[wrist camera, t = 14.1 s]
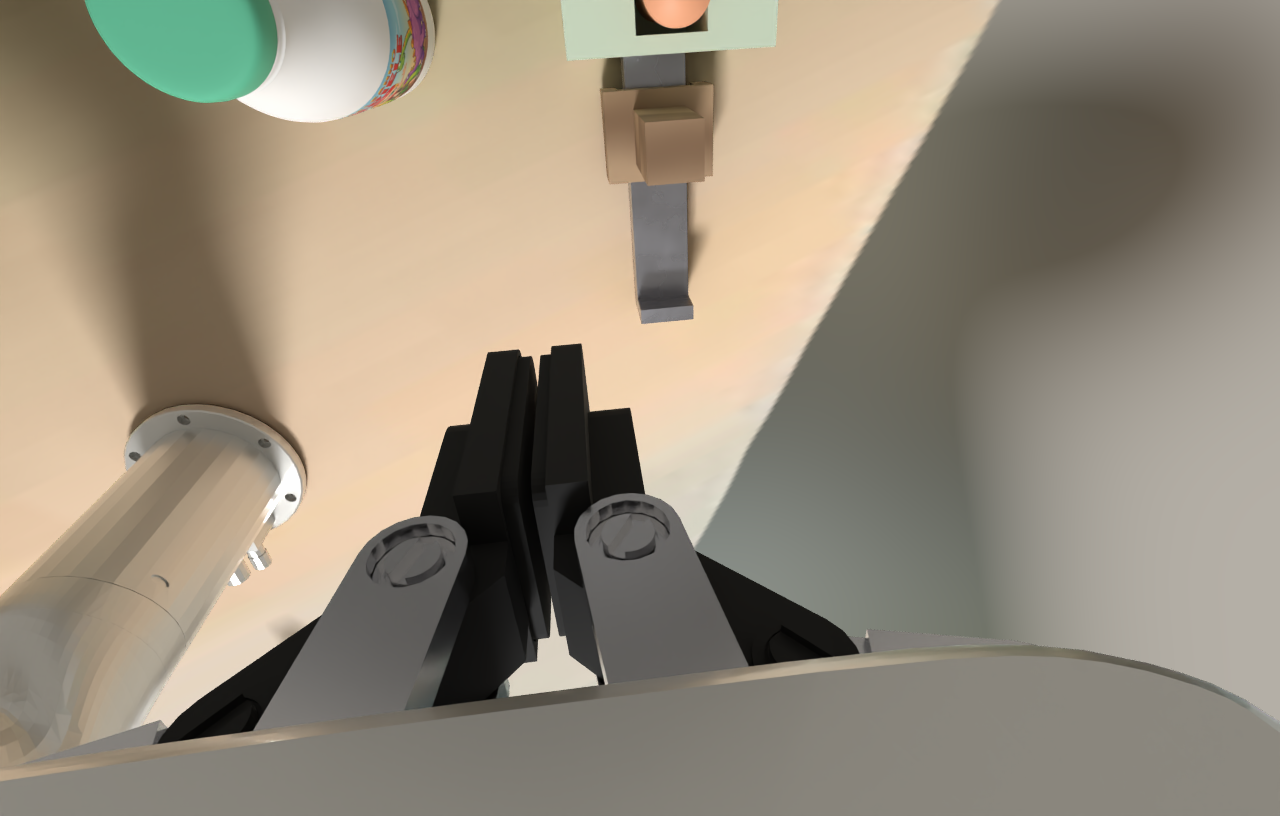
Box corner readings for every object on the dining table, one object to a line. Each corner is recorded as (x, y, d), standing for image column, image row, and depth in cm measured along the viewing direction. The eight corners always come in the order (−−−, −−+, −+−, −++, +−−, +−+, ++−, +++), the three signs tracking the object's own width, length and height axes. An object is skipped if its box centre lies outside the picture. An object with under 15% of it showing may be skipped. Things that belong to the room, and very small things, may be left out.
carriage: (703, 167, 39) (735, 198, 32) (606, 175, 39) (616, 208, 31) (703, 81, 37) (739, 93, 29) (600, 88, 36) (608, 102, 29)
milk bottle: (269, 36, 34) (-29, 38, 17) (329, -100, 31) (44, -264, 14) (398, 129, 37) (255, 209, 20) (463, 12, 34) (361, -10, 17)
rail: (683, 297, 45) (693, 318, 41) (635, 302, 44) (641, 323, 41) (679, 47, 36) (691, 48, 33) (619, 51, 36) (625, 53, 32)
